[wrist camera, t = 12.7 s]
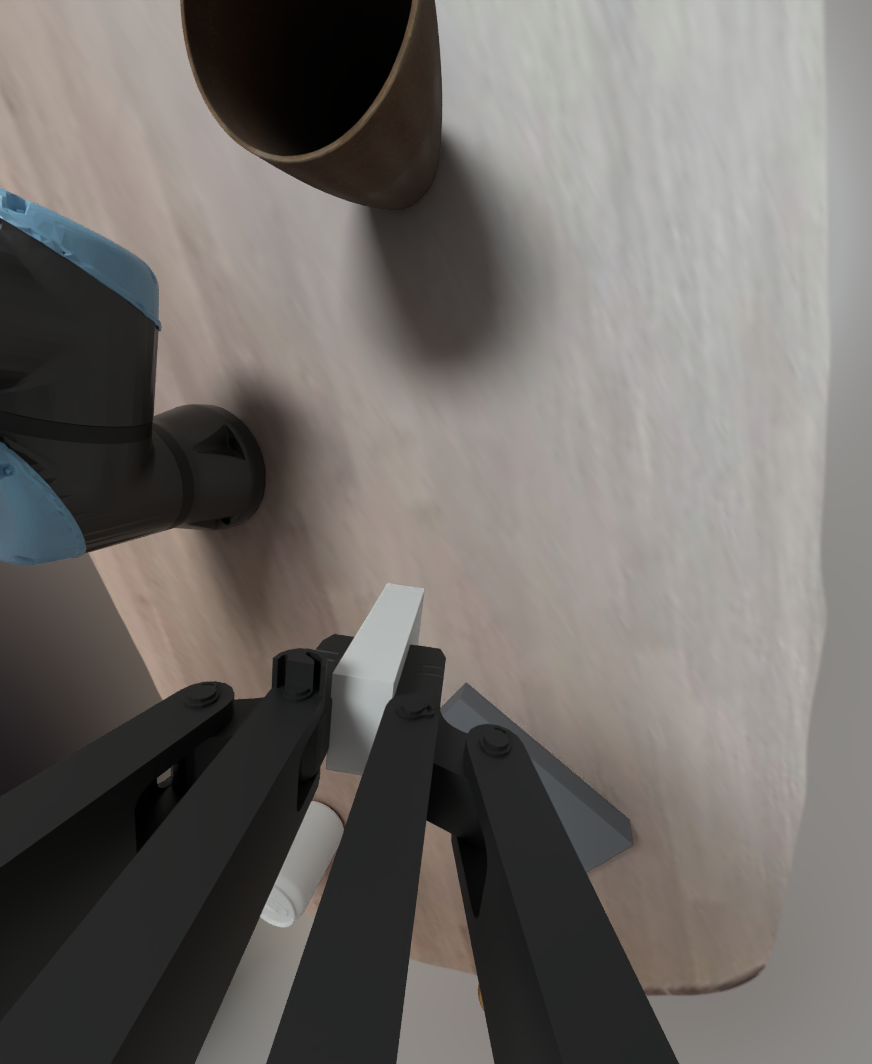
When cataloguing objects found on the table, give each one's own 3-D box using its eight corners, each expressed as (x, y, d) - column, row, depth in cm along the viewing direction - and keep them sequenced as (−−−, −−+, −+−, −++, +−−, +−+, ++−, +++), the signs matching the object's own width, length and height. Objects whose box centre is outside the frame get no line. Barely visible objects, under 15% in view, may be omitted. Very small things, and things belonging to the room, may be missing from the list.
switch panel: (403, 745, 54) (394, 763, 51) (466, 682, 49) (460, 698, 46) (548, 870, 52) (547, 895, 49) (629, 819, 47) (633, 844, 44)
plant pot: (520, 138, 34) (485, -81, 19) (405, 294, 39) (309, 220, 25) (396, 9, 34) (265, -306, 19) (299, 183, 40) (141, 44, 25)
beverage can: (311, 788, 61) (255, 869, 50) (354, 822, 60) (307, 912, 49) (292, 816, 64) (235, 898, 53) (333, 849, 64) (284, 940, 52)
